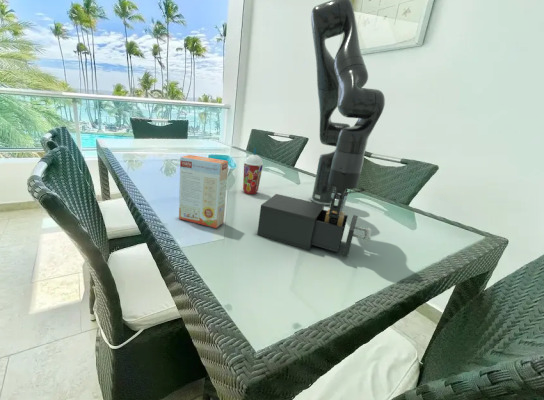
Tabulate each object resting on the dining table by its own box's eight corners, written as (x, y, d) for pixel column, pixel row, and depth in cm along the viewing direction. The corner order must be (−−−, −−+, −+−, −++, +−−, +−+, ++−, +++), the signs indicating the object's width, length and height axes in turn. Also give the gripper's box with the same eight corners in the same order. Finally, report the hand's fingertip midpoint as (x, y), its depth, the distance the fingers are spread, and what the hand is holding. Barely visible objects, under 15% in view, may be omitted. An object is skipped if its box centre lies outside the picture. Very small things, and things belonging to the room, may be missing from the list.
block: (325, 222, 81) (328, 208, 80) (341, 226, 79) (345, 212, 78) (323, 227, 78) (326, 213, 76) (339, 232, 76) (343, 217, 74)
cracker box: (224, 222, 90) (229, 160, 83) (216, 229, 85) (220, 163, 78) (187, 213, 95) (190, 153, 88) (178, 219, 90) (179, 156, 83)
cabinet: (318, 232, 88) (324, 204, 85) (309, 250, 76) (315, 218, 73) (272, 220, 95) (276, 193, 92) (257, 234, 83) (260, 204, 80)
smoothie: (263, 193, 124) (268, 149, 117) (251, 196, 118) (257, 150, 111) (248, 188, 129) (253, 146, 122) (237, 191, 123) (241, 147, 116)
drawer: (366, 243, 81) (373, 219, 78) (364, 262, 70) (372, 235, 68) (303, 226, 89) (308, 204, 87) (293, 241, 79) (297, 216, 76)
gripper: (335, 162, 80) (323, 215, 86) (326, 170, 68) (314, 231, 74) (362, 166, 77) (349, 221, 83) (359, 176, 65) (343, 239, 71)
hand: (332, 226), depth 78 cm, fingers closed on block, 4 cm apart
